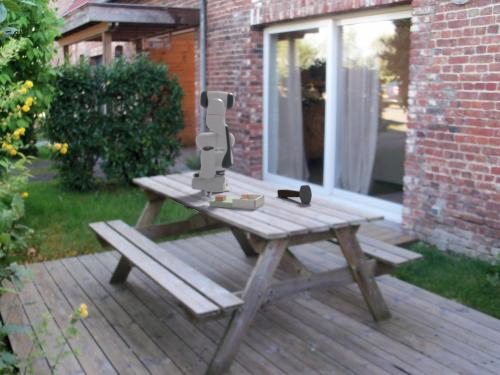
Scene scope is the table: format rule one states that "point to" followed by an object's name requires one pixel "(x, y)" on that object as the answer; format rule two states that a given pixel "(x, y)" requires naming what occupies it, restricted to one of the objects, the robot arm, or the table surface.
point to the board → (223, 202)
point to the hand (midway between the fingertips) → (208, 197)
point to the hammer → (297, 194)
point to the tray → (249, 202)
